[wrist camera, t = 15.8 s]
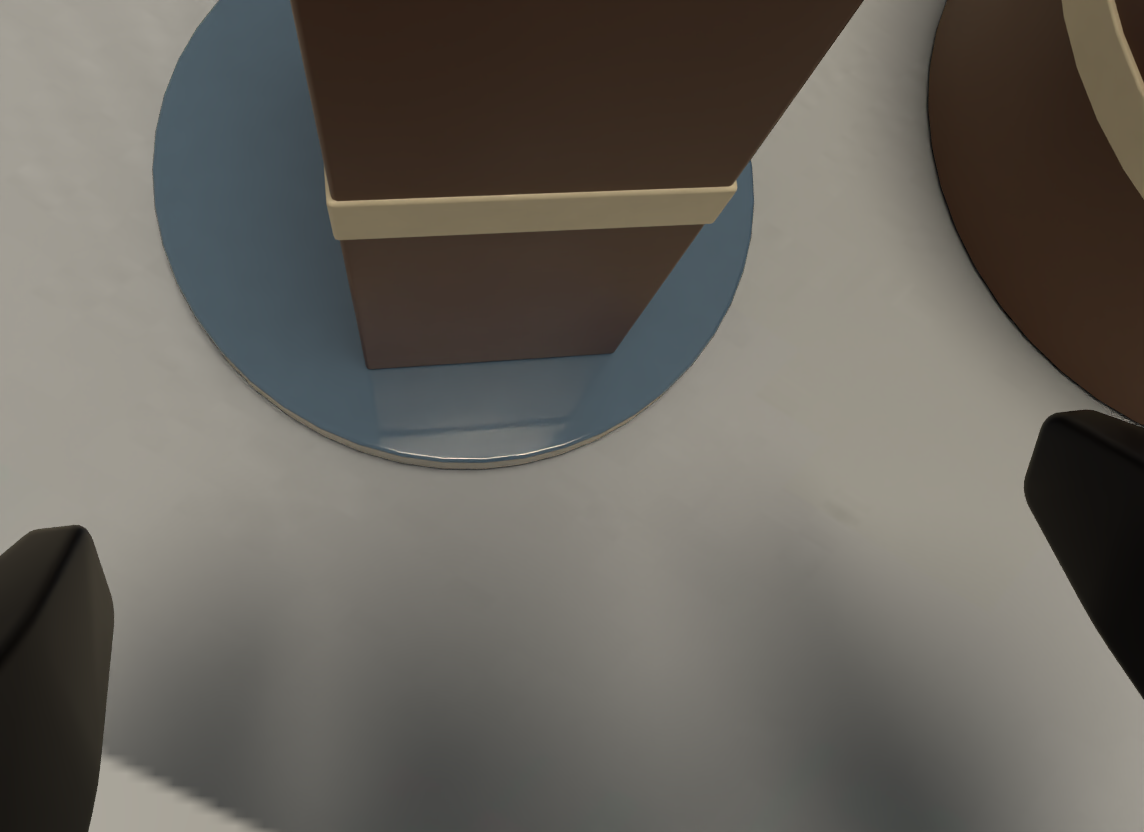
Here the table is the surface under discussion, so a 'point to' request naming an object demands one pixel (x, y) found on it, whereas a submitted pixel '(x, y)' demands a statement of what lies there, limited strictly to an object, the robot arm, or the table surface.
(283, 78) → the plate
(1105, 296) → the cake
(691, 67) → the cake slice
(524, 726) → the table surface
